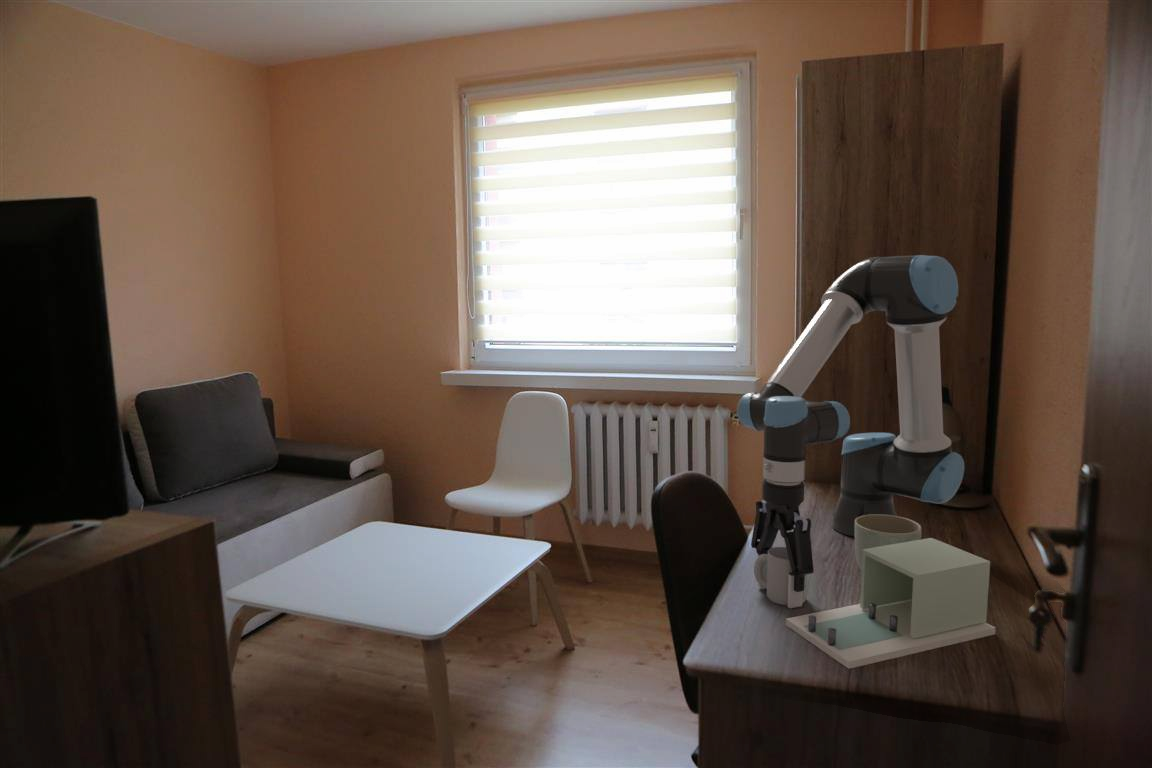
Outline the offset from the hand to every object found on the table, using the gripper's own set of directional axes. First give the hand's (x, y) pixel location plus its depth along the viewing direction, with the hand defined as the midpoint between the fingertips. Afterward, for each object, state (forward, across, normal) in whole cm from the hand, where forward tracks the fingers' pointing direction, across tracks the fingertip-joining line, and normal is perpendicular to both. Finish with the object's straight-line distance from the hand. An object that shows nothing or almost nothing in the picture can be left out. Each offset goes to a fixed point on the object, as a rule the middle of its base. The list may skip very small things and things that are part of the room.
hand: (779, 596), depth 143 cm
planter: (0, -1, +26) cm, 26 cm away
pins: (-1, +18, +2) cm, 18 cm away
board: (0, +18, +10) cm, 20 cm away
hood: (-1, +18, +17) cm, 24 cm away
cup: (0, 0, 0) cm, 1 cm away
